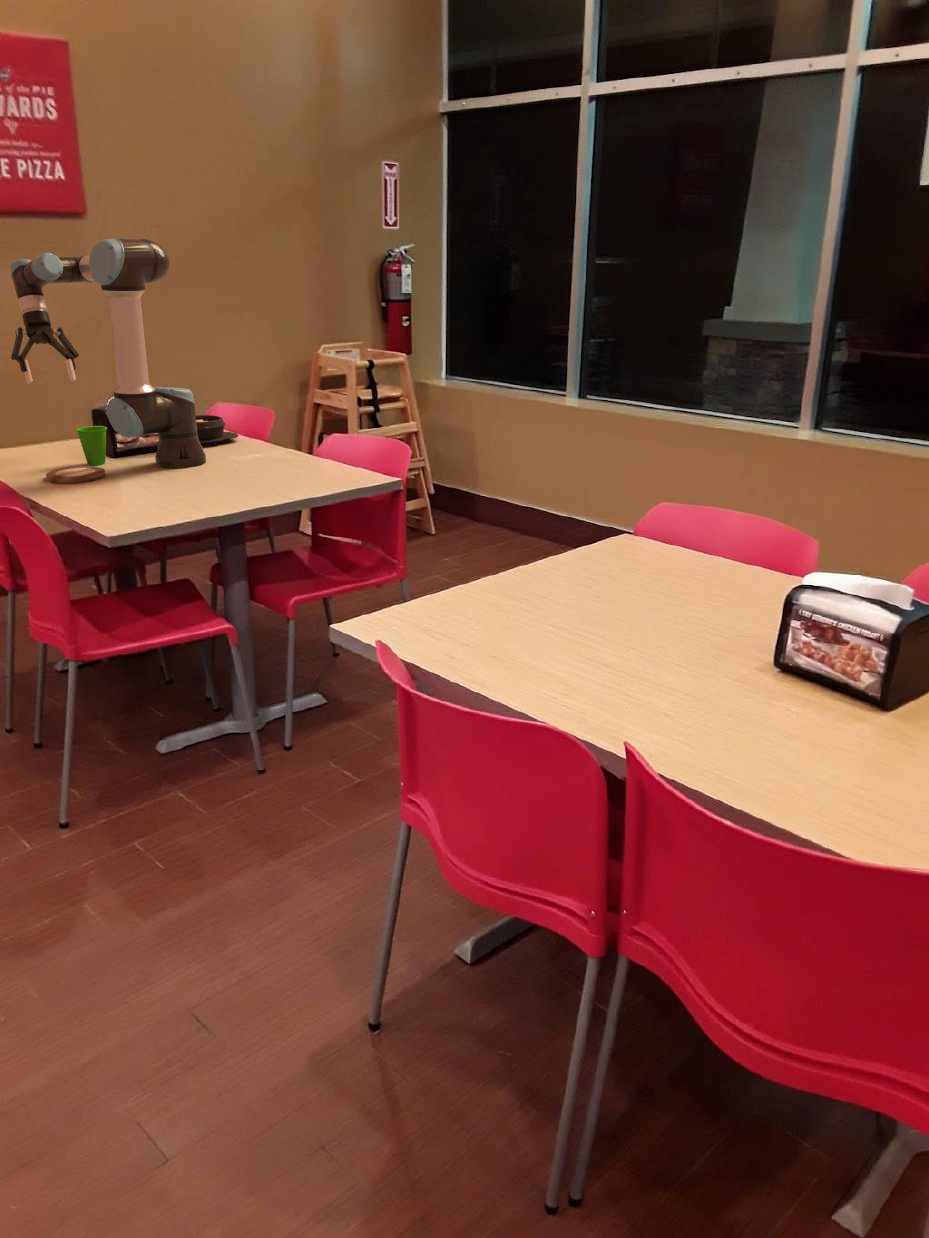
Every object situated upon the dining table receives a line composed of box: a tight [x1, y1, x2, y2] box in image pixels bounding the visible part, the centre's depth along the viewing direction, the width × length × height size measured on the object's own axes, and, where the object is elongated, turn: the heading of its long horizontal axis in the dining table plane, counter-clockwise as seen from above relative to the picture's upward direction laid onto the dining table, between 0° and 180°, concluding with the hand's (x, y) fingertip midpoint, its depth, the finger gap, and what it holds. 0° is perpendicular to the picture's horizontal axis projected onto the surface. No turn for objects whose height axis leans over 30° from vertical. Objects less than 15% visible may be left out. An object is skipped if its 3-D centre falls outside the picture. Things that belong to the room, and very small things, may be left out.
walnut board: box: [45, 465, 106, 485], centre depth 274 cm, size 16×16×2 cm
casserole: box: [196, 414, 239, 447], centre depth 321 cm, size 25×19×8 cm
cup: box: [75, 425, 108, 467], centre depth 289 cm, size 9×9×11 cm
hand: (52, 381), depth 291 cm, fingers open, 13 cm apart
